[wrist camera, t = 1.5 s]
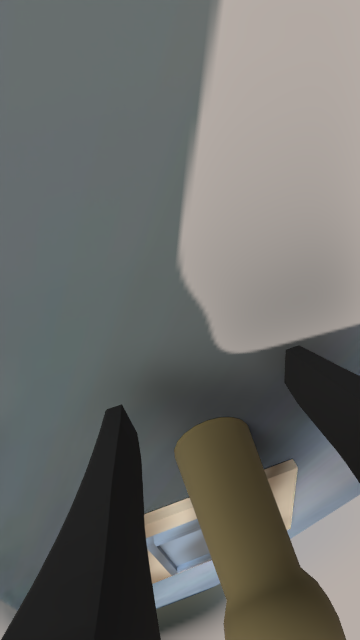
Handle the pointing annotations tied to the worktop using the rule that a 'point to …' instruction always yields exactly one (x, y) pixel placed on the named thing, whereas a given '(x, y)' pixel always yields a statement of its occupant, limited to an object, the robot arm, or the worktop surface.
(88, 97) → the worktop surface
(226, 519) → the cork
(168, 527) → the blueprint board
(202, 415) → the worktop surface
